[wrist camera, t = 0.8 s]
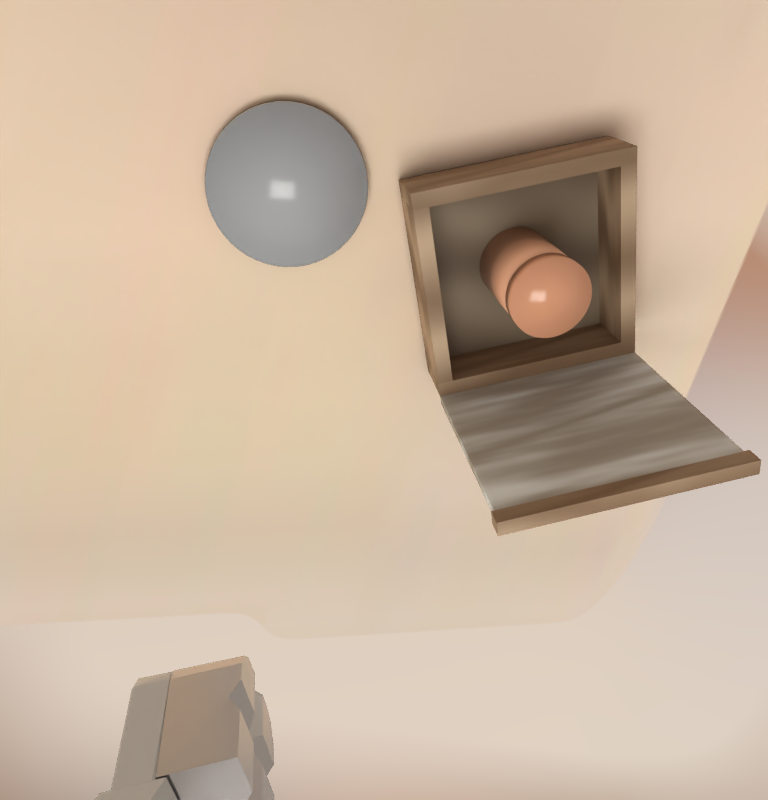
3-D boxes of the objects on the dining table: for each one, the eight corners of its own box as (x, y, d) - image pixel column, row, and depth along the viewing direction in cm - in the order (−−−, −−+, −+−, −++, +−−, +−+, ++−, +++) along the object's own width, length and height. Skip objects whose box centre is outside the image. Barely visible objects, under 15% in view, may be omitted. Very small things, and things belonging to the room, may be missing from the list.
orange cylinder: (475, 235, 47) (507, 267, 41) (548, 219, 47) (591, 249, 41) (482, 305, 50) (513, 345, 43) (552, 289, 50) (592, 328, 44)
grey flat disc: (184, 119, 41) (183, 120, 41) (350, 85, 42) (351, 86, 41) (231, 278, 46) (230, 281, 46) (378, 246, 47) (380, 249, 46)
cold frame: (395, 180, 45) (467, 269, 29) (611, 135, 46) (793, 198, 30) (427, 380, 52) (497, 536, 37) (612, 338, 53) (759, 473, 37)
